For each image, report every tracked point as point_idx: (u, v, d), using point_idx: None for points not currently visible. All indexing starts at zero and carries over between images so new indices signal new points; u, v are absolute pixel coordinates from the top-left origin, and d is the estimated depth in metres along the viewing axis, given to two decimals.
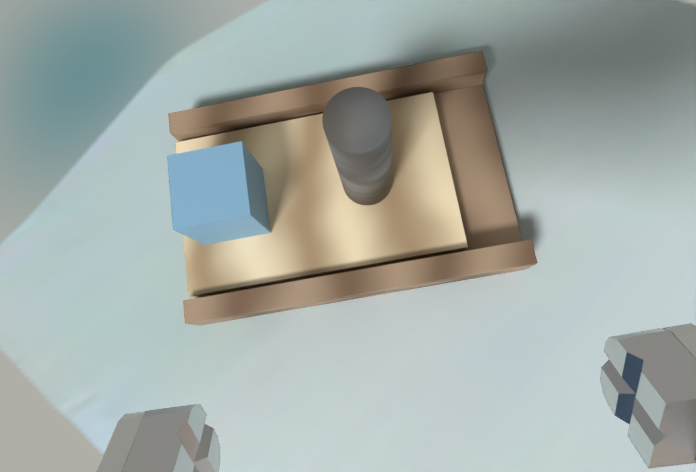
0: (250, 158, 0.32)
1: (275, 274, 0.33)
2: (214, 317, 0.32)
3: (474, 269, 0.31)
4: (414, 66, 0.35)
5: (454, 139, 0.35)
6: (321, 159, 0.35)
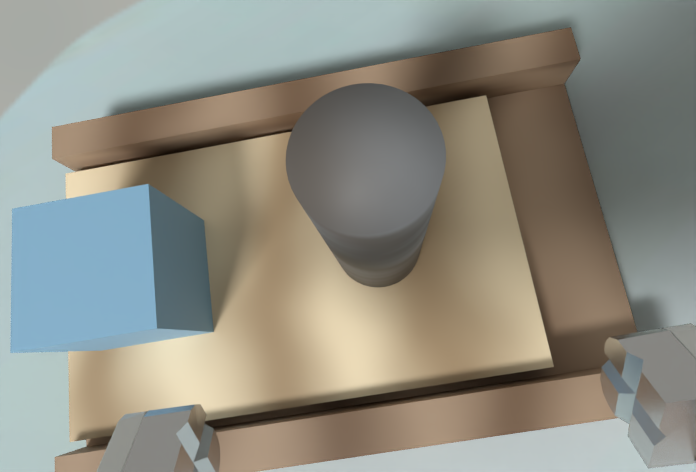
0: (171, 211, 0.18)
1: (219, 407, 0.19)
2: None
3: (572, 416, 0.17)
4: (457, 53, 0.21)
5: (520, 173, 0.22)
6: (300, 205, 0.21)
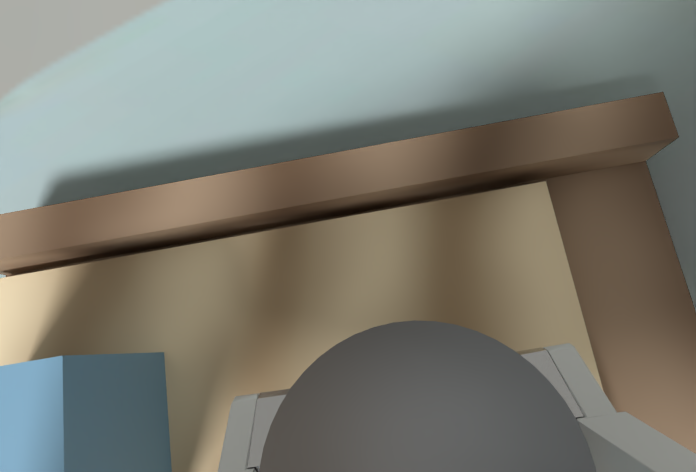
0: (106, 374, 0.12)
1: None
2: None
3: None
4: (508, 126, 0.15)
5: (591, 285, 0.16)
6: (295, 334, 0.15)
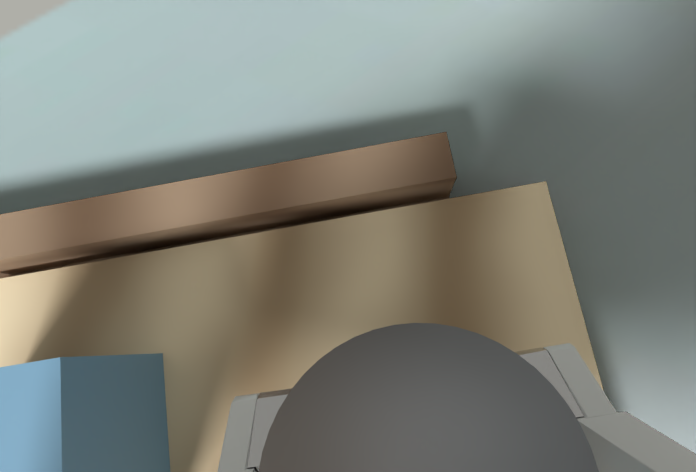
0: (104, 376, 0.12)
1: None
2: None
3: None
4: (297, 165, 0.16)
5: None
6: (294, 335, 0.15)
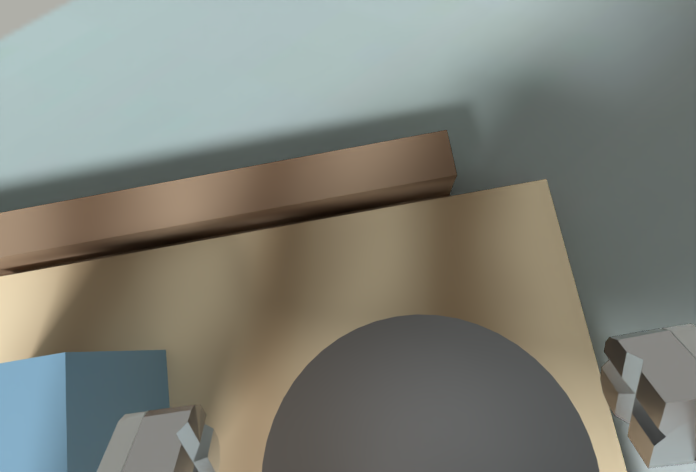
0: (108, 371, 0.12)
1: None
2: None
3: None
4: (298, 163, 0.16)
5: None
6: (296, 332, 0.15)
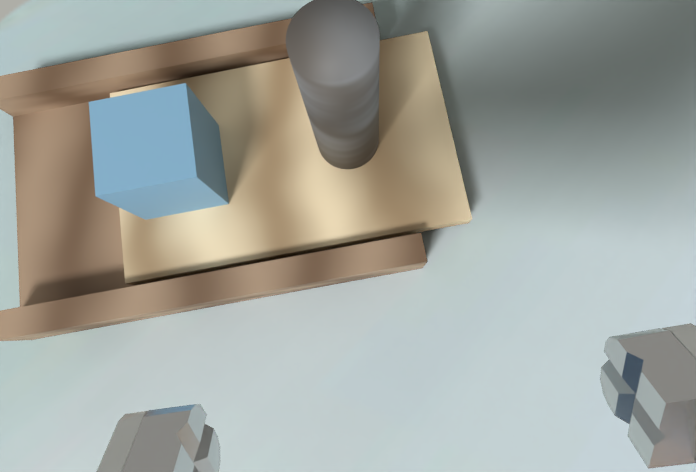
0: (199, 107, 0.25)
1: (234, 255, 0.27)
2: (31, 332, 0.26)
3: (351, 270, 0.25)
4: None
5: None
6: (290, 113, 0.28)
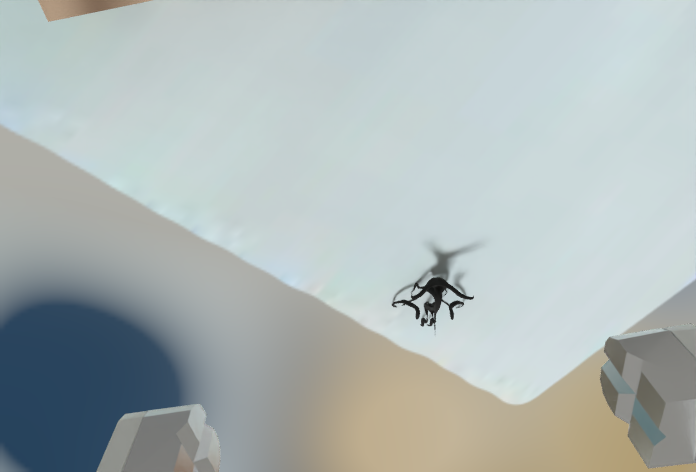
0: None
1: None
2: (76, 14, 0.33)
3: None
4: None
5: None
6: None
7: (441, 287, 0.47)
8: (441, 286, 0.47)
